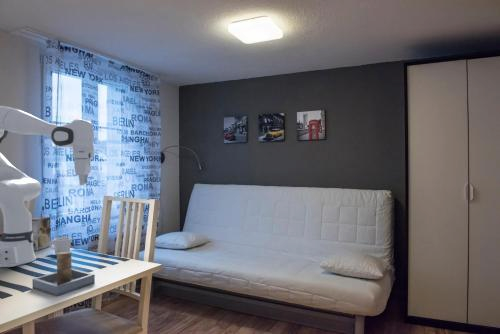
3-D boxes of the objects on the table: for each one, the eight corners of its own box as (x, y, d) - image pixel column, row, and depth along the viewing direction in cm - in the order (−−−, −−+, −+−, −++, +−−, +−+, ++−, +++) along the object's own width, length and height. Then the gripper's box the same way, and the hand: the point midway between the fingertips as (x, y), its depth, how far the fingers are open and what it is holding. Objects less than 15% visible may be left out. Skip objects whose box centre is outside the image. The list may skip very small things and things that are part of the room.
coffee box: (41, 245, 194) (41, 216, 194) (51, 246, 193) (50, 217, 192) (27, 249, 185) (27, 219, 185) (37, 250, 184) (37, 220, 183)
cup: (44, 255, 174) (44, 239, 174) (55, 251, 182) (55, 236, 182) (64, 256, 173) (64, 240, 173) (74, 252, 181) (74, 237, 181)
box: (56, 296, 125) (56, 286, 125) (32, 288, 132) (32, 278, 132) (94, 283, 138) (94, 274, 138) (70, 276, 146) (70, 267, 146)
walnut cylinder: (55, 286, 132) (55, 255, 132) (58, 282, 137) (58, 252, 136) (70, 285, 134) (70, 254, 133) (72, 281, 138) (72, 251, 138)
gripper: (79, 154, 170) (79, 182, 171) (71, 154, 151) (72, 186, 151) (93, 154, 172) (93, 182, 172) (87, 154, 153) (87, 186, 153)
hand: (83, 184), depth 162 cm, fingers open, 8 cm apart
